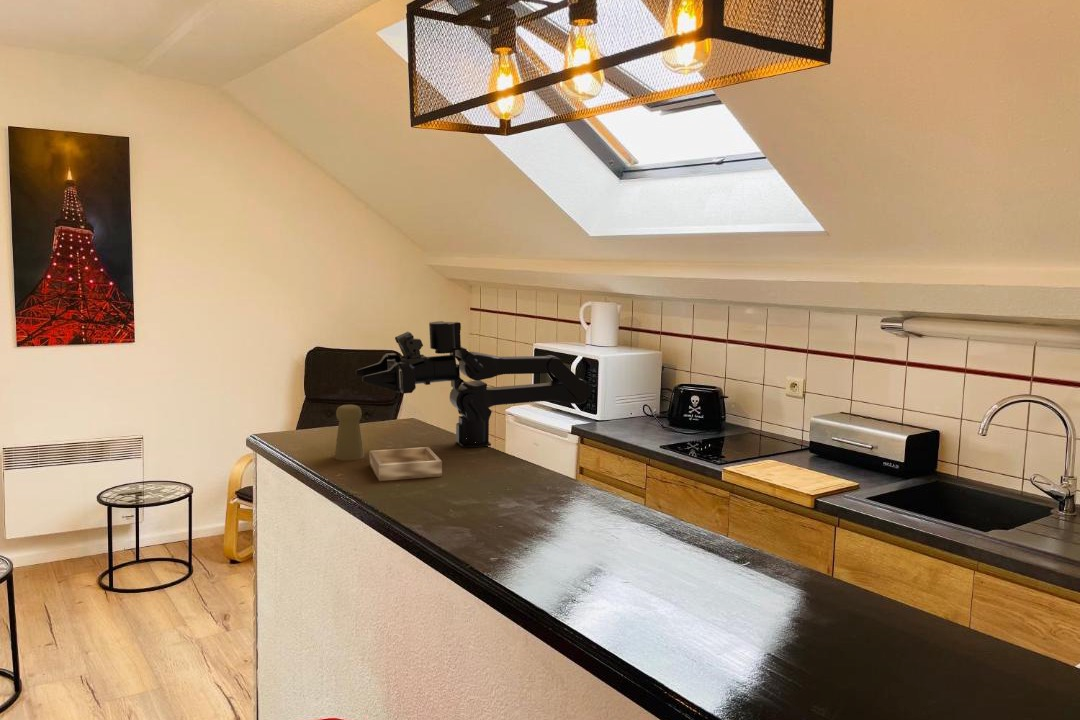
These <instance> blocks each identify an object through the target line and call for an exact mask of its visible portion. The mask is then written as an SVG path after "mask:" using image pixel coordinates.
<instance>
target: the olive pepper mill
mask: <svg viewBox="0 0 1080 720" xmlns="http://www.w3.org/2000/svg"><path fill="white" fill-rule="evenodd" d="M362 412H363V411H362V409H361V407H360V406H359V405H356V404H343V405H340V406H338V407H337V409H336V411H335V416H336V419H337V421H338V427H337V433H336V434H337V435H336V436H337V437H336V443H335V451H334V452H335V453H334V459H336V460H337V461H346V462H347V461H349V462H350V461H357V460H361V459H364V458H365V453H364V447H363V446H364V445H363V439H362V434H361V433H362V432H361V426H360V420H361V418H362V415H363V414H362Z"/></svg>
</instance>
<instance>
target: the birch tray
mask: <svg viewBox="0 0 1080 720" xmlns="http://www.w3.org/2000/svg"><path fill="white" fill-rule="evenodd" d="M369 466H370V468H371V469H372V471H373V473H374V474H375V475H374V476H376V478H377V479H378V481H379V482H384V481H397V480H409V479H412V480H413V479H423V478H435V477H436V478H437V477H442V476H443V461H442V459H440V457H439V456H438V455H436V453H435V452H434V451H433V450H432V449H431V448H430V447H429V446H423V447H408V448H407V447H406V448H392V449H379V450H378V449H377V450H375V449H374V450H369Z"/></svg>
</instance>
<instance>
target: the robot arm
mask: <svg viewBox="0 0 1080 720" xmlns="http://www.w3.org/2000/svg"><path fill="white" fill-rule="evenodd" d="M428 324H429V325H428V326H429V345H430V346H429V348H430V349H431V350H434V352H435V354H439V355H434V356H426V355H424V354H423V353H422V354H421V351H420V350H421V349H422V348H423V346H424V344H423V342H422V340H421V338H415V337H414V335H413V334H412V333H411V332H410V331H406V332H404V333H402V334H399V335H398V336H395V337H394V340H395V342H396V344H397V345H398V347H399V349H400V352H401V354H402V355H400V356H399V355H397V354H396V353H394V352H391V353H385V354H384V355H383V356H382V358H381V359H380V360H379V361H378V362H377V363H374V364H371V365H367V366H364V367H361V368H359V369H357V370H355V374H356V376H359V377H362V382H363V383H366V384H370V385H374V386H376V387H380V388H382V389H383V388H384V389H387V390H390V391H392V392H396V393H401V394H405V395H406V394H412V393H413V392H414V391H415V390H416V388H417V386H416V385H419V384H421V385H422V384H424V385H425V386H428V385H431V383H443V382H444V383H445V382H450V387H451V388H452V389H451V391H450V393H449V402H450V403H451V405H452V406H453V407H455V408H456V410H457V412H458V414H459V416H458V422H457V423H456V424H455V425H456V427H455V432H456V433H455V441H456V443H458V445H460V446H461V447H462V448H476V447H491V446H492V443H491V442H490V441H489V439H490V437H489V435H490V433H489V432H490V431H489V430H490V417H491V415H492V410H491V409H490V408H492V407H495V406H502V405H512V404H514V405H515V404H524V403H525V404H526V403H528V404H529V403H537V402H538V403H539V402H549V401H550V402H551V401H554V402H558V403H564V404H573V405H574V404H575V405H582V404H585V403H586V402H587V401H588V399H589V397H590V396H591V393H592V391H591V390H592V389H591V385H590V383H588V382H587V380H584V379H582V378H580V377H578V375H576V374H575V373H574V372H573V371H572V370H571V369H570V368H569V367H568V366H566V365H565V364H564V363H563V361H562V360H561V358H559V357H557V356H555V355H550V354H547V355H541V356H540V355H535V356H533V355H532V356H527V355H526V356H524V355H523V356H497V355H493V354H488V353H483V352H479V351H478V352H476V351H468V350H467V348H466V347H463V346H462V342H461V331H462V329H461V328H462V326H461V324H462V323H461V322H459V321H443V320H441V321H440V320H437V321H431V322H430V321H429V322H428ZM440 354H442V355H440ZM443 354H445V355H443ZM446 354H447V355H446ZM457 361H458V363H457ZM461 374H462V375H464V376H466V378H469V379H470V381H465V380H463V379H462V378H461ZM526 374H527V375H529V374H531V375H532V374H533V375H535V374H547V375H548V377H549V378H550V379H551V380H550V381H549V382H544V383H543V382H542V383H531V384H530V383H529V384H518V385H505V386H502V385H501V386H491V387H490V386H488V383H486V382H485V381H484V380H486V379H492V378H494V377H498V376H500V375H501V376H502V375H526ZM471 380H472V381H471ZM482 380H483V381H482ZM466 438H467V439H466ZM475 442H476V443H475Z"/></svg>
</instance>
